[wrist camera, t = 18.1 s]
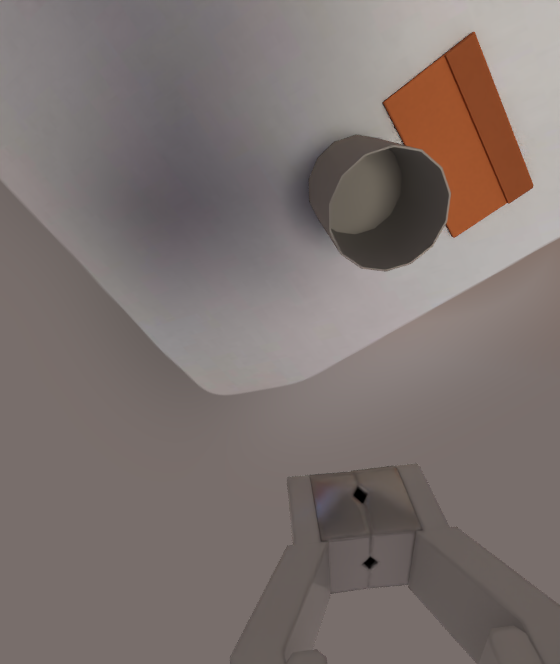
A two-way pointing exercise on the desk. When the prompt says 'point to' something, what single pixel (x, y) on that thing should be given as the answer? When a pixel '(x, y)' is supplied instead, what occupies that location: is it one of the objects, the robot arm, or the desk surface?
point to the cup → (379, 201)
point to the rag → (462, 133)
